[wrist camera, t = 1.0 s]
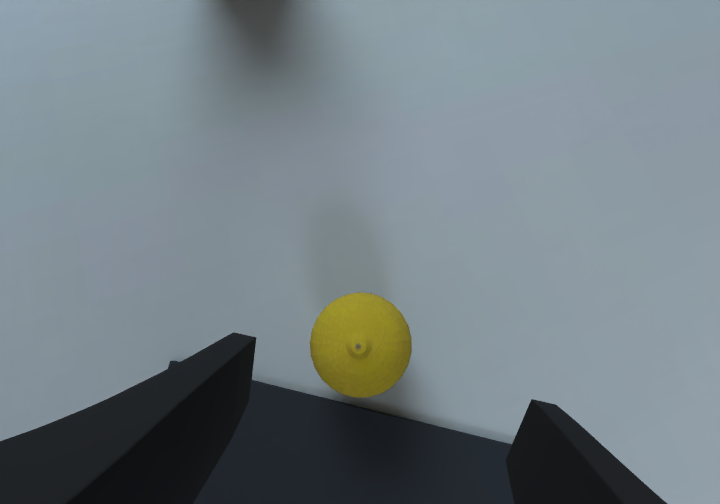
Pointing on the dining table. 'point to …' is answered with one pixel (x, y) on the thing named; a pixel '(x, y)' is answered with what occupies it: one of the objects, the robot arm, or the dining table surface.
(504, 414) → the dining table surface
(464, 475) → the mat
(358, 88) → the dining table surface
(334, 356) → the lemon
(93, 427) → the robot arm
